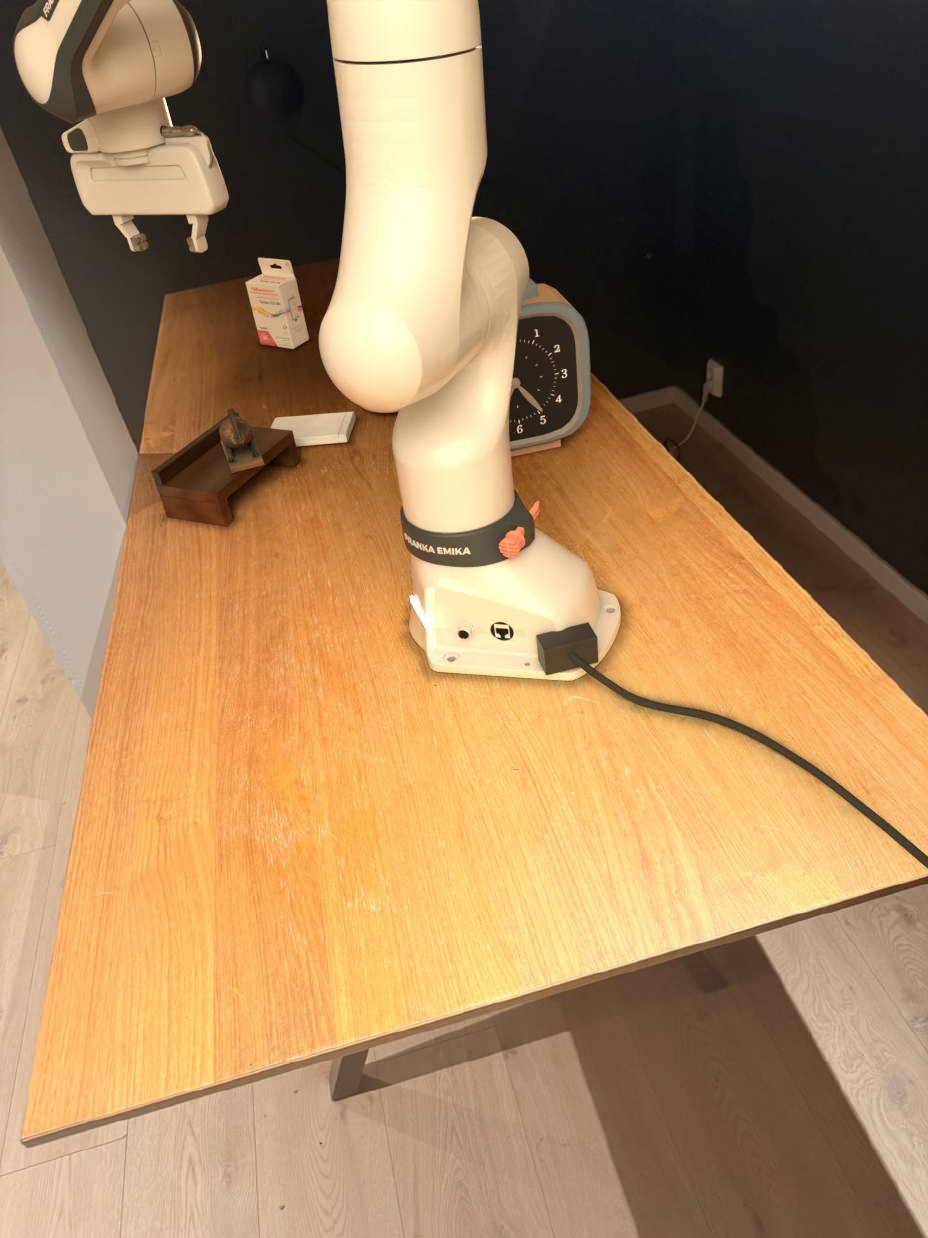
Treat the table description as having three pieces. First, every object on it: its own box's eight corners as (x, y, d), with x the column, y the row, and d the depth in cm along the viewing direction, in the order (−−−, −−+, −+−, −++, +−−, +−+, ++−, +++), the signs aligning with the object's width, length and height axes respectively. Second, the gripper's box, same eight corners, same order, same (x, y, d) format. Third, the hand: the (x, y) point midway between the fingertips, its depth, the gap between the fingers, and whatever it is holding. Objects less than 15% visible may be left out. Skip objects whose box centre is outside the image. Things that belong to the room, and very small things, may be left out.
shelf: (300, 461, 137) (289, 417, 133) (226, 526, 124) (211, 479, 120) (244, 455, 141) (231, 411, 137) (167, 517, 128) (150, 471, 124)
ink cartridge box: (259, 345, 178) (238, 265, 169) (276, 335, 181) (257, 256, 172) (293, 349, 174) (274, 268, 165) (310, 339, 177) (292, 258, 168)
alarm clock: (449, 473, 129) (426, 315, 116) (436, 443, 136) (413, 292, 123) (594, 442, 131) (588, 284, 118) (574, 415, 138) (566, 264, 125)
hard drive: (263, 440, 140) (345, 433, 139) (275, 416, 147) (354, 409, 145) (266, 450, 141) (347, 443, 140) (278, 426, 148) (356, 419, 146)
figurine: (270, 478, 123) (253, 416, 118) (236, 487, 122) (217, 425, 117) (252, 436, 134) (236, 378, 128) (221, 444, 133) (203, 386, 128)
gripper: (221, 117, 108) (252, 243, 116) (87, 125, 116) (125, 242, 124) (186, 130, 103) (221, 260, 112) (50, 137, 111) (91, 257, 120)
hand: (169, 250), depth 118 cm, fingers open, 8 cm apart
